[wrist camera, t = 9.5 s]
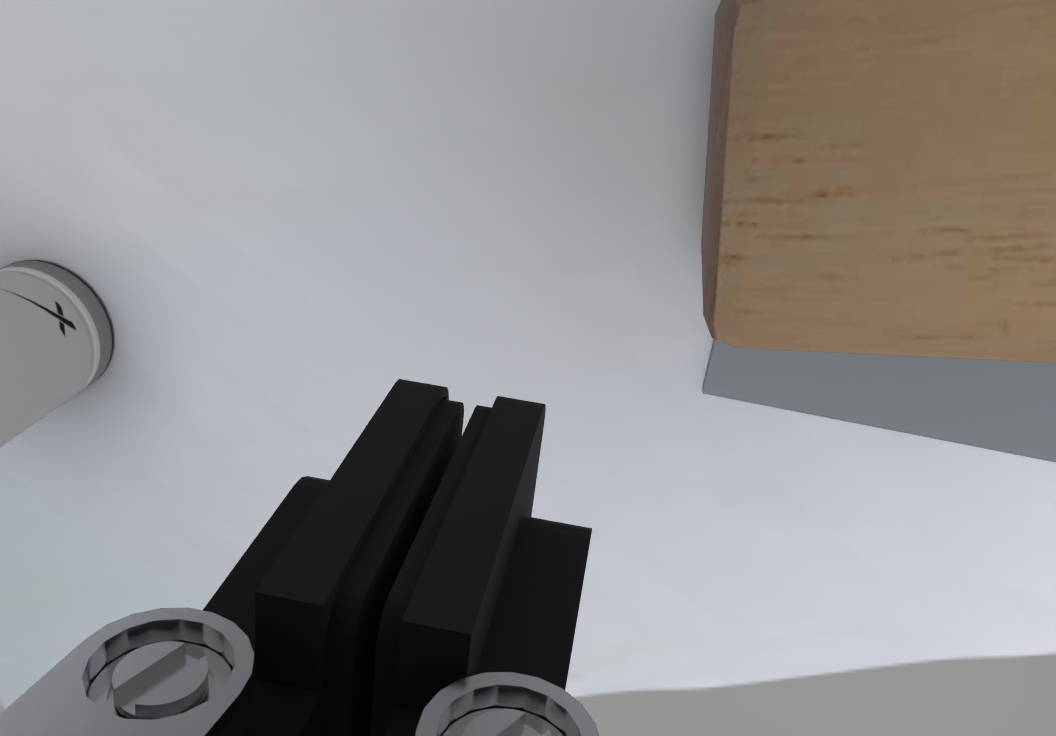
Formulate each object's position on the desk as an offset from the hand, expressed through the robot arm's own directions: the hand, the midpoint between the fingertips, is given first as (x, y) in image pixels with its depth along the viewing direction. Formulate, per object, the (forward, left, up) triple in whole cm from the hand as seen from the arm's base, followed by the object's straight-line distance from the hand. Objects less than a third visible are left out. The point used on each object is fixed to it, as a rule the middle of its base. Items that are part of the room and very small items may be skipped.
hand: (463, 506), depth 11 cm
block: (-1, +3, -22) cm, 22 cm away
